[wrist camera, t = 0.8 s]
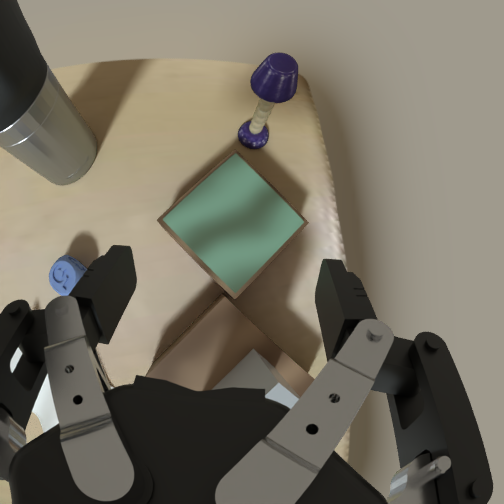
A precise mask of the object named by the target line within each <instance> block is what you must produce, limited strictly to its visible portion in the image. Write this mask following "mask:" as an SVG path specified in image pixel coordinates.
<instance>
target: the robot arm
mask: <svg viewBox="0 0 504 504" xmlns="http://www.w3.org/2000/svg"><path fill="white" fill-rule="evenodd" d="M0 147H2V148H3V149H5V150H6V151H7V152H9V153H10V154H12V155H13V156H14V157H16V158H17V159H19V160H20V161H21V162H23V163H24V164H26V165H27V166H29V167H30V168H31V169H33V170H34V171H36V172H37V173H39V174H40V175H41V176H43V177H44V178H46V179H47V180H49V181H50V182H52V183H54V184H56V185H68V184H70V183H73V182H75V181H77V180H78V179H80V178H81V177H82V176H83V175H84V174H85V173H86V172H87V171H88V170H89V168H90V167H91V165H92V163H93V161H94V159H95V156H96V151H97V142H96V138H95V136H94V134H93V133H92V131H91V130H90V128H89V127H88V125H87V124H86V122H85V121H84V119H83V118H82V116H81V115H80V113H79V112H78V111H77V109H76V108H75V106H74V105H73V103H72V102H71V100H70V99H69V97H68V96H67V94H66V93H65V91H64V89H63V88H62V86H61V85H60V83H59V82H58V80H57V79H56V77H55V76H54V74H53V73H52V71H51V69H50V68H49V66H48V65H47V63H46V61H45V60H44V58H43V56H42V55H41V53H40V50H39V48H38V46H37V43H36V41H35V38H34V36H33V34H32V32H31V30H30V28H29V26H28V24H27V22H26V20H25V18H24V16H23V14H22V11H21V9H20V7H19V4H18V2H17V0H0ZM136 283H137V277H136V271H135V266H134V260H133V254H132V249H131V247H130V246H122V245H113V246H112V247H111V248H110V249H109V250H108V252H107V253H106V254H105V256H101V257H99V258H98V259H96V260H95V261H93V262H92V264H91V265H90V266H89V268H88V269H87V270H86V272H85V273H84V274H83V277H81V278H80V280H79V281H78V282H77V284H76V285H75V286H74V288H73V289H72V291H71V292H70V293H69V295H68V296H60V297H57V298H55V299H53V300H52V301H51V302H49V304H48V305H47V306H46V308H45V309H42V310H31V308H30V306H29V304H28V302H27V301H25V300H16V301H13V302H11V303H10V304H8V305H7V306H6V307H5V308H4V310H3V311H2V312H1V314H0V480H6V481H8V482H9V485H10V490H11V497H12V504H487V503H488V501H489V499H490V498H491V495H492V492H493V481H492V476H491V472H490V468H489V463H488V460H487V456H486V452H485V448H484V445H483V441H482V438H481V434H480V431H479V428H478V425H477V422H476V419H475V416H474V413H473V410H472V407H471V404H470V401H469V399H468V396H467V393H466V391H465V388H464V385H463V383H462V380H461V378H460V375H459V373H458V371H457V368H456V366H455V363H454V361H453V359H452V357H451V354H450V352H449V350H448V348H447V346H446V343H445V342H444V341H443V340H442V338H440V337H439V336H438V335H436V334H434V333H431V332H422V333H419V334H418V335H417V336H416V338H415V339H414V341H412V340H407V339H403V338H398V337H395V336H394V334H393V332H392V330H391V328H390V327H389V326H388V325H386V324H385V323H383V322H382V321H379V320H377V317H376V315H375V312H374V310H373V308H372V305H371V303H370V300H369V298H368V297H367V294H366V291H365V290H364V287H363V285H362V282H361V280H360V279H359V278H358V277H357V276H356V275H355V274H354V273H353V272H347V271H346V269H345V266H344V264H343V262H342V260H336V259H323V261H322V264H321V268H320V273H319V277H318V282H317V286H316V291H315V304H316V309H317V313H318V318H319V322H320V327H321V332H322V337H323V342H324V347H325V352H326V357H327V362H328V363H327V364H326V365H325V367H324V368H323V369H322V371H321V372H320V373H319V375H318V376H317V377H316V378H315V380H314V381H313V382H312V384H311V385H310V386H309V387H308V389H307V390H306V391H305V392H304V394H303V395H302V396H301V397H300V399H299V400H298V401H297V402H296V403H295V405H294V406H293V407H292V408H291V409H290V408H289V407H287V406H285V405H283V404H281V403H279V402H277V401H274V400H271V399H268V398H265V389H256V388H238V387H230V388H222V389H215V390H206V391H195V390H192V389H189V388H186V387H183V386H181V385H178V384H175V383H172V382H170V381H167V380H163V379H156V378H150V377H144V376H138V375H136V378H135V381H134V384H128V385H122V386H118V387H115V388H113V389H111V387H110V384H109V382H108V379H107V377H106V374H105V371H104V369H103V366H102V363H101V360H100V357H99V354H98V352H97V349H96V346H97V344H98V343H103V344H109V342H110V340H111V338H112V336H113V334H114V331H115V329H116V327H117V325H118V323H119V321H120V319H121V317H122V315H123V313H124V311H125V309H126V307H127V305H128V303H129V301H130V299H131V297H132V295H133V293H134V291H135V288H136ZM18 347H19V349H20V351H21V352H22V355H21V357H20V359H19V361H18V363H17V365H16V367H15V369H14V371H13V373H12V372H11V369H10V362H11V359H12V357H13V356H14V354H15V352H16V350H17V348H18ZM47 373H48V378H49V383H50V388H51V393H52V397H53V402H54V406H55V410H56V414H57V418H58V422H59V423H58V424H57V425H55V426H54V427H52V428H51V429H49V430H48V431H46V432H44V433H43V434H41V435H40V436H38V437H37V438H35V439H34V440H32V441H30V442H29V443H26V434H25V429H26V426H27V423H28V420H29V418H30V415H31V412H32V410H33V407H34V405H35V402H36V399H37V397H38V395H39V392H40V390H41V387H42V385H43V383H44V380H45V378H46V376H47ZM370 390H374V391H379V392H384V393H386V394H387V399H388V403H389V408H390V412H391V417H392V422H393V427H394V432H395V437H396V443H397V449H398V456H399V461H400V468H401V469H400V470H399V471H397V472H396V474H395V475H394V476H393V478H392V481H391V490H390V494H389V497H388V499H387V500H386V499H385V498H384V496H383V495H381V493H380V492H379V491H377V490H376V489H375V488H374V487H373V486H372V485H371V484H369V483H368V482H367V481H366V480H365V479H364V478H363V477H362V476H361V475H359V474H358V473H357V472H356V471H355V470H354V469H353V468H352V467H351V466H350V465H349V464H348V463H347V462H345V461H344V460H343V459H342V458H341V457H340V456H339V455H338V454H337V453H336V452H335V451H334V449H335V448H336V446H337V445H338V443H339V442H340V440H341V439H342V437H343V435H344V434H345V432H346V431H347V429H348V428H349V426H350V424H351V423H352V421H353V419H354V418H355V416H356V414H357V413H358V411H359V409H360V407H361V405H362V404H363V402H364V400H365V399H366V397H367V395H368V393H369V391H370Z"/></svg>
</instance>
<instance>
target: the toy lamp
mask: <svg viewBox="0 0 504 504" xmlns="http://www.w3.org/2000/svg"><path fill="white" fill-rule="evenodd" d="M297 80H298V64H297V62H296V61H295V59H294V58H293V57H291V56H290V55H288V54H285V53H273V54H271V55H269V56H268V57H267V58H266V59H265V60H264V61H263V62H262V63H261V64H260V65H259V67H258V68H257V69H256V70H255V71H254V73H253V74H252V77H251V81H250V82H251V88H252V90H253V91H254V93H255V94H256V95H257V96H258V97H259V98H261V99H260V100H259V102H258V106H257V108H256V111H255V113H254V115H253V118H252V120H251V121H248V122H246V123H244V124H243V125H242V126H241V127H240V129H239V131H238V138H239V141H240V142H241V143H242V144H243V145H244V146H245V147H247V148H250V149H259V148H261V147H263V146H264V145H265V144H266V143H267V141H268V137H269V135H268V130H267V128H266V127H265V126H264V125H265V122H266V121H267V119H268V116H269V115H270V113H271V109H272V108H273V106H274V103H282V102H286V101H288V100H290V99H291V98H292V97H293V96H294V94H295V92H296V89H297Z"/></svg>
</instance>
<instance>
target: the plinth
mask: <svg viewBox="0 0 504 504" xmlns="http://www.w3.org/2000/svg"><path fill="white" fill-rule="evenodd" d="M157 221H158V222H159V224H160V225H161V226H162V227H163V228H164V229H165V230H166V231H167V233H168V234H169V235H170V236H171V237H172V238H173V239H174V240H175V241H176V242H177V243H178V244H179V245H180V246H181V247H182V248H183V249H184V250H185V251H186V252H187V253H188V254H189V255H190V256H191V257H192V258H193V259H194V260H195V261H196V262H197V263H198V264H199V265H200V267H201V268H202V269H203V270H204V271H205V272H206V273H207V274H208V275H209V276H210V277H211V278H212V279H213V280H214V281H215V282H216V283H217V284H219V285H220V286H221V287H222V288H223V289H224V290H225V291H226V292H227V293H228V294H229V295H230V296H231V297H232V298H233V299H236V298H237V297H238V296H239V295H240V294H241V293H242V292H243V291H244V290H245V289H246V288H247V287H248V286H249V285H250V284H251V283H252V282H253V281H254V280H255V279H256V278H257V277H258V276H259V275H260V274H261V272H262V271H263V270H264V269H265V268H266V267H267V266H268V265H269V264H270V263H271V262H272V261H273V260H274V259H275V258H276V257H277V256H278V255H279V254H280V253H281V252H282V251H283V250H284V249H285V247H286V246H287V245H288V244H289V243H290V242H291V241H292V240H293V239H294V238H295V237H296V236H297V235H298V234H299V233H300V232H301V231H302V230H303V229H304V227H305V226H306V225H307V224H308V223H309V222H308V221H307V220H306V219H305V218H304V217H303V216H302V215H301V214H300V213H299V212H298V211H297V210H296V209H295V208H294V207H293V206H292V205H291V204H290V203H289V202H288V201H287V200H286V199H285V198H284V197H283V196H282V195H281V194H280V193H279V191H278V190H277V189H276V188H275V187H274V186H273V185H272V184H271V183H270V182H269V181H268V180H266V179H265V178H264V177H263V176H262V175H261V174H260V173H259V172H258V171H257V170H256V169H255V168H254V167H253V166H252V165H251V164H250V163H249V162H248V161H247V160H246V159H245V158H244V157H243V156H242V155H241V154H240V153H239V152H238V151H237V150H236V149H235V150H234V151H232V152H231V153H230V154H229V155H228V156H227V157H225V158H224V159H223V160H222V161H221V162H220V163H218V164H217V165H216V166H215V167H214V168H213V169H211V170H210V171H209V172H208V173H207V174H206V175H205V176H204V177H202V178H201V179H200V180H199V181H198V182H197V183H196V184H195V185H194V186H192V187H191V188H190V189H189V190H188V191H187V192H186V193H185V194H184V195H183V196H182V197H180V198H179V199H178V200H177V201H176V202H175V203H174V204H173V205H172V206H171V207H170V208H169V209H168V210H167V211H166V212H165V213H164V214H163V215H162V216H160V217H159V218H158V219H157Z"/></svg>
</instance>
